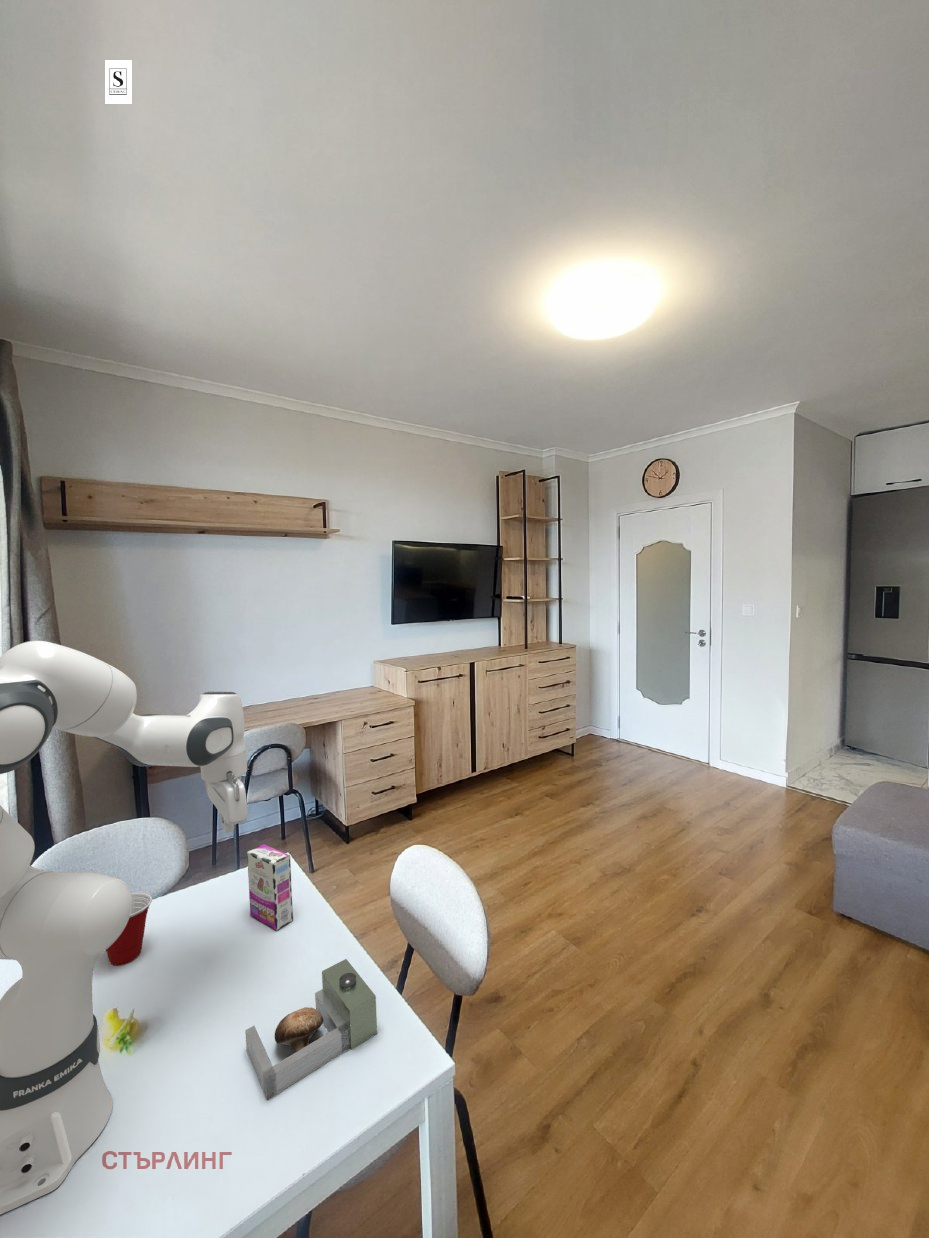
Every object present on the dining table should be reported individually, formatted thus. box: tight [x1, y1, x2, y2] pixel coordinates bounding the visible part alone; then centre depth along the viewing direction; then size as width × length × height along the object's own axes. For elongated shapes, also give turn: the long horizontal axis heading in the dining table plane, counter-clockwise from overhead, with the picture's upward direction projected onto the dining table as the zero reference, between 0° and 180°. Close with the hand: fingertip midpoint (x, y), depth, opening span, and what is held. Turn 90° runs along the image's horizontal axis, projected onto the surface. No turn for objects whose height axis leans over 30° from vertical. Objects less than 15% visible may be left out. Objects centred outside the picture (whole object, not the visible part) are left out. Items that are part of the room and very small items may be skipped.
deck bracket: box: [244, 958, 378, 1101], centre depth 88 cm, size 19×12×8 cm, turn 128°
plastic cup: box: [105, 892, 153, 967], centre depth 111 cm, size 11×11×12 cm
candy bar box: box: [246, 843, 294, 932], centre depth 123 cm, size 11×5×16 cm, turn 55°
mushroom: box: [274, 1006, 324, 1052], centre depth 88 cm, size 8×8×6 cm
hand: (228, 829), depth 107 cm, fingers closed
